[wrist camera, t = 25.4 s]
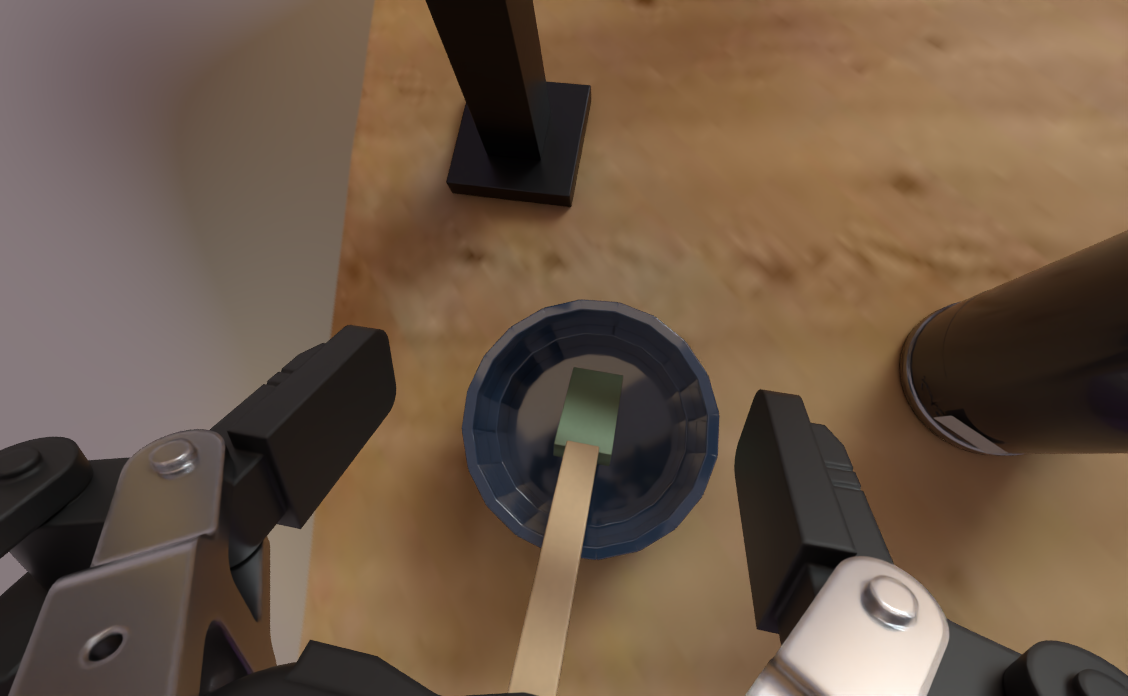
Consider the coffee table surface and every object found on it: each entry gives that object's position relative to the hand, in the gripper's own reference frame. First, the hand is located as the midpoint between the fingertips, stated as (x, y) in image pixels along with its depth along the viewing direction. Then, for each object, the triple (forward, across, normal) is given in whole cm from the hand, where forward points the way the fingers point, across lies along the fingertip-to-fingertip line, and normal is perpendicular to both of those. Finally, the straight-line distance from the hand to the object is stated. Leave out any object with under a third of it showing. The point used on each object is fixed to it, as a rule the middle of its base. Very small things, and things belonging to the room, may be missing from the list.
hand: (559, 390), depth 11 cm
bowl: (+15, 0, +15) cm, 21 cm away
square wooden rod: (+6, 0, +14) cm, 16 cm away
